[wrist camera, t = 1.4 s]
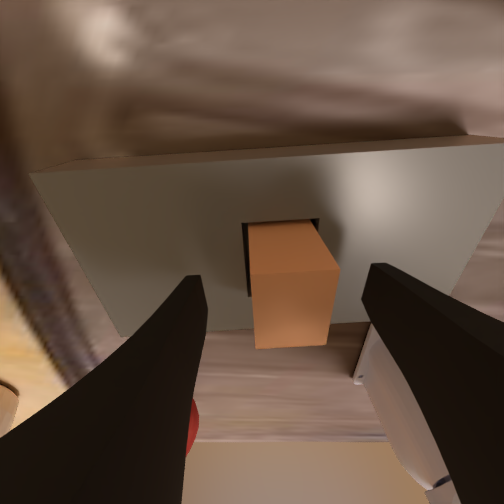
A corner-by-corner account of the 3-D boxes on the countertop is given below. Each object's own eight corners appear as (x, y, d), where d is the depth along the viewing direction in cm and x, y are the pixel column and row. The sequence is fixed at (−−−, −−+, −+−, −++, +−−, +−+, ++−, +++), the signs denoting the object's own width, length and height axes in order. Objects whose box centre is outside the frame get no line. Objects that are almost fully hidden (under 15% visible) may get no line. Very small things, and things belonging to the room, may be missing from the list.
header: (407, 285, 17) (437, 317, 14) (139, 302, 17) (121, 337, 14) (469, 134, 11) (535, 141, 9) (76, 160, 11) (27, 173, 9)
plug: (297, 263, 15) (325, 344, 10) (251, 266, 15) (255, 349, 10) (300, 205, 12) (340, 269, 7) (247, 209, 12) (250, 274, 7)
